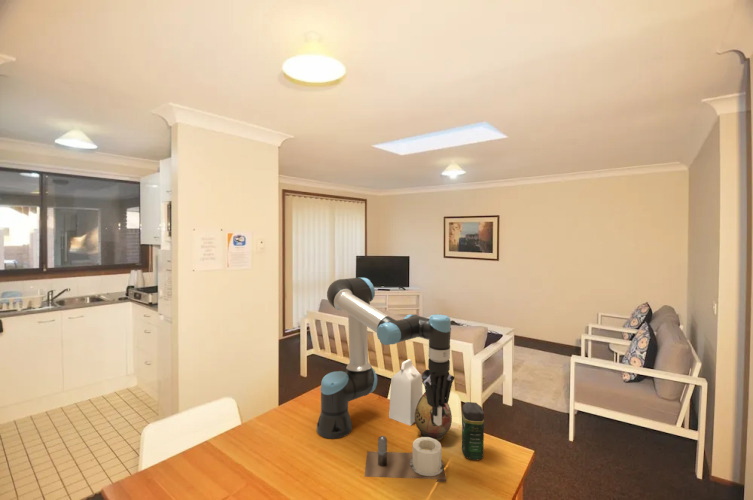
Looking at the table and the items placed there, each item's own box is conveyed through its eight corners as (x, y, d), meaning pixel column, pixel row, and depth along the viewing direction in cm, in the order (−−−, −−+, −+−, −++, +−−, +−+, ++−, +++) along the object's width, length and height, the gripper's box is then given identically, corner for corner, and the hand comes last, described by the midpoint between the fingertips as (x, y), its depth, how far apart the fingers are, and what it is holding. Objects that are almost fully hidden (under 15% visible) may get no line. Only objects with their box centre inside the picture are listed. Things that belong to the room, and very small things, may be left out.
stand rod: (376, 464, 124) (376, 437, 124) (380, 459, 127) (380, 432, 126) (384, 467, 122) (384, 439, 122) (388, 462, 125) (388, 435, 125)
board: (364, 479, 118) (364, 476, 118) (367, 453, 132) (367, 451, 132) (446, 482, 116) (446, 479, 116) (440, 456, 130) (440, 453, 130)
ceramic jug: (428, 450, 134) (429, 375, 133) (407, 431, 148) (408, 362, 147) (462, 439, 142) (463, 367, 141) (439, 421, 155) (440, 356, 155)
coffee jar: (485, 462, 127) (486, 412, 127) (463, 460, 128) (464, 411, 128) (480, 446, 137) (481, 400, 136) (460, 445, 138) (460, 399, 137)
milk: (402, 407, 168) (402, 355, 168) (423, 414, 162) (423, 360, 161) (388, 417, 159) (389, 362, 158) (410, 425, 152) (410, 367, 151)
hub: (404, 469, 122) (404, 452, 121) (417, 451, 132) (418, 435, 132) (436, 481, 116) (436, 463, 115) (448, 461, 126) (448, 445, 126)
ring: (414, 473, 119) (414, 453, 119) (411, 455, 129) (411, 436, 129) (443, 473, 119) (443, 453, 118) (438, 455, 129) (438, 437, 128)
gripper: (430, 365, 116) (428, 433, 117) (460, 359, 122) (458, 424, 123) (418, 358, 123) (416, 422, 124) (446, 353, 129) (445, 414, 130)
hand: (437, 423), depth 123 cm, fingers closed
